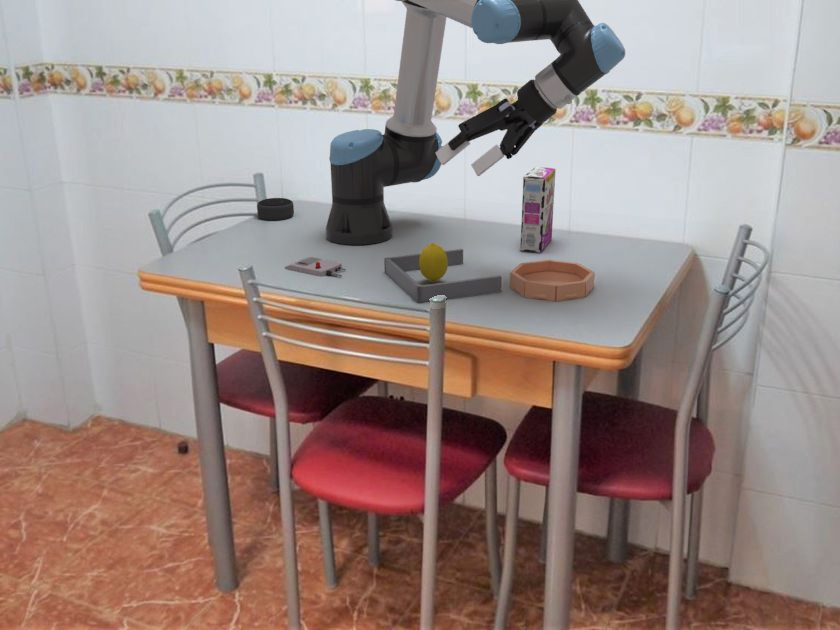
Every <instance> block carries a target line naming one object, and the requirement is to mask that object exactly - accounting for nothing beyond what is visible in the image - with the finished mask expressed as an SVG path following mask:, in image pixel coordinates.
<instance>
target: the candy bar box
mask: <svg viewBox="0 0 840 630" xmlns="http://www.w3.org/2000/svg"><path fill="white" fill-rule="evenodd" d="M556 170H557V169H556V168H553V167H541V166H540V167H539V166H538V167H536V166H534V167H533V169H531V170H529V172H527V173H526V174H525V175H523V178H522V179H523V180H522V182H523V183H522V184H523V185H522V204H521V226H520V227H521V229H520V246H519V247H520V248H519V251H520V252H523V253H524V252H527V253H536V254H541V253H543V251H544V250H545V248H547V246H548V245H549V243H550V242H551V241H552V239H553V237H552V236H553V221H554V220H553V219H554V218H553V217H554V204H555V203H554V202H555V201H554V199H555V185H556V183H555V181H556Z"/></svg>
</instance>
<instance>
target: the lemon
mask: <svg viewBox="0 0 840 630" xmlns="http://www.w3.org/2000/svg"><path fill="white" fill-rule="evenodd" d="M445 251H446V250H445V249H444V248H443V247H442V246H441V245H438V244H437V243H435V242H431V243H430V244H429V245H427V246H425V247H424V248H423V249H422V250H421V253H419V254H420V258H419V267H420V269H419V271H420V273H421V275H422V276H423V277H424V278H425V279H427V280H429V281H430V282H431V284H436V282H437V281H438V280H441V279H442V278H443V277H444V276H445V275H446V273H447V271H448V267H449V266H448V260H447V255H446V252H445Z"/></svg>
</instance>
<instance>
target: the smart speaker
mask: <svg viewBox="0 0 840 630" xmlns="http://www.w3.org/2000/svg"><path fill="white" fill-rule="evenodd" d="M294 207H295V206H294V202H293V201H292V200H291V199H289V198H287V197H286V198H284V197H269V198H265V199H262V200H260V201H258V202H257V204H256V211H257V216H258V218H259V219H262V220H265V221H284V220H287V219H290V218H292V217H293V216H294V214H295V211H294V210H295V208H294ZM283 219H284V220H283Z"/></svg>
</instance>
